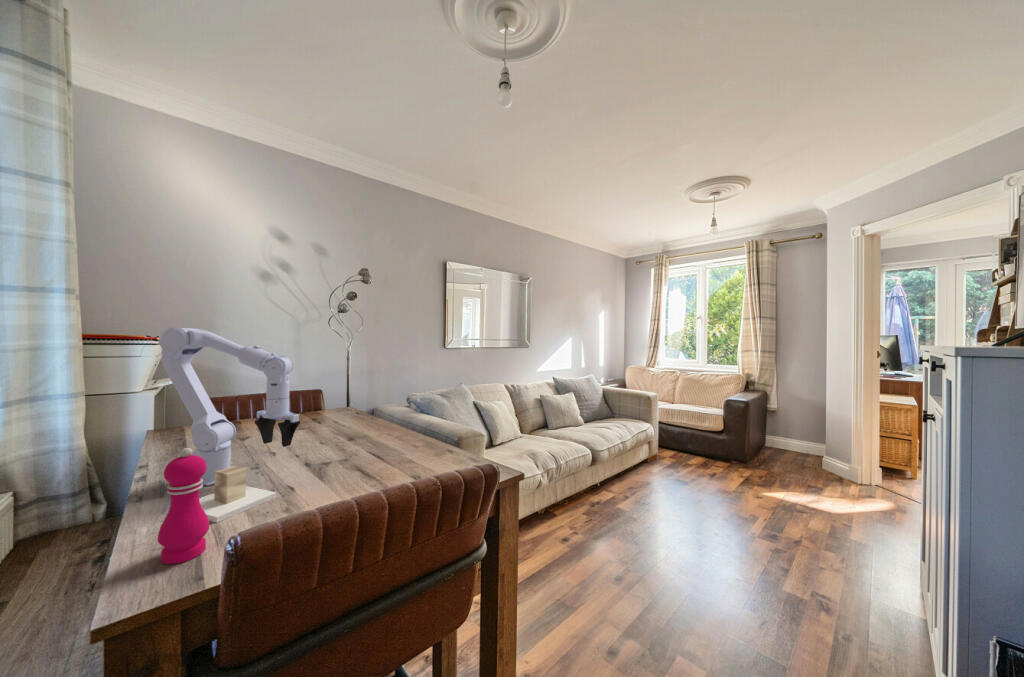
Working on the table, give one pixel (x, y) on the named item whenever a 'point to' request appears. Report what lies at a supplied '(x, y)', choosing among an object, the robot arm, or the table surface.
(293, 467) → the table surface
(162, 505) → the table surface
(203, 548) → the pepper mill
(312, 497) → the table surface
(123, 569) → the table surface
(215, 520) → the white board
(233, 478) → the birch block
